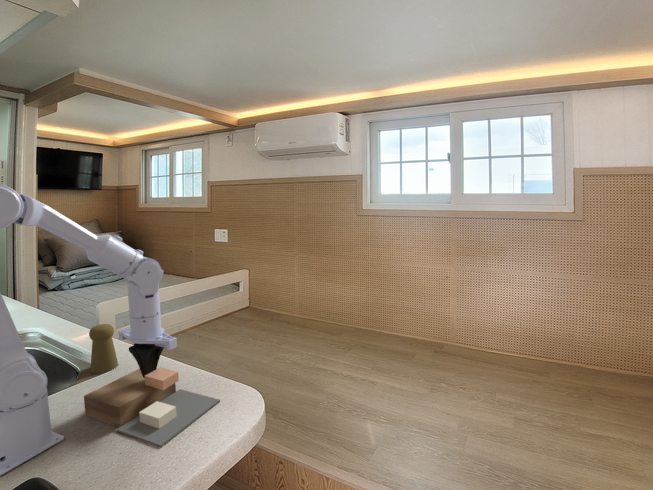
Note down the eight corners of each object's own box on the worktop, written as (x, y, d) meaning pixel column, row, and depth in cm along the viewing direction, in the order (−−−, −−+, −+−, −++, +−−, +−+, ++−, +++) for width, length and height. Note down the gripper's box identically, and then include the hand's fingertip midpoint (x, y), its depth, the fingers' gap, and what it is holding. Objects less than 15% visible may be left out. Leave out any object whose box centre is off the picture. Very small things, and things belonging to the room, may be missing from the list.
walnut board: (120, 427, 65) (119, 407, 64) (85, 415, 69) (83, 396, 68) (175, 392, 77) (174, 375, 76) (143, 383, 80) (142, 367, 80)
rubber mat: (161, 447, 59) (161, 445, 59) (116, 431, 64) (116, 429, 64) (220, 401, 73) (220, 399, 73) (180, 390, 77) (180, 389, 77)
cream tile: (139, 412, 65) (139, 422, 66) (158, 418, 64) (159, 428, 64) (157, 401, 69) (157, 410, 69) (176, 406, 67) (176, 416, 67)
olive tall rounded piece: (121, 360, 92) (117, 320, 91) (115, 371, 87) (111, 328, 85) (94, 364, 90) (91, 323, 89) (86, 375, 85) (82, 331, 83)
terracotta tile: (163, 390, 70) (162, 380, 70) (145, 384, 72) (144, 375, 72) (178, 380, 74) (178, 371, 74) (160, 376, 76) (160, 367, 76)
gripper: (186, 312, 73) (189, 373, 75) (137, 304, 79) (141, 362, 81) (159, 323, 67) (163, 390, 69) (107, 314, 73) (112, 376, 74)
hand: (149, 376), depth 74 cm, fingers closed
